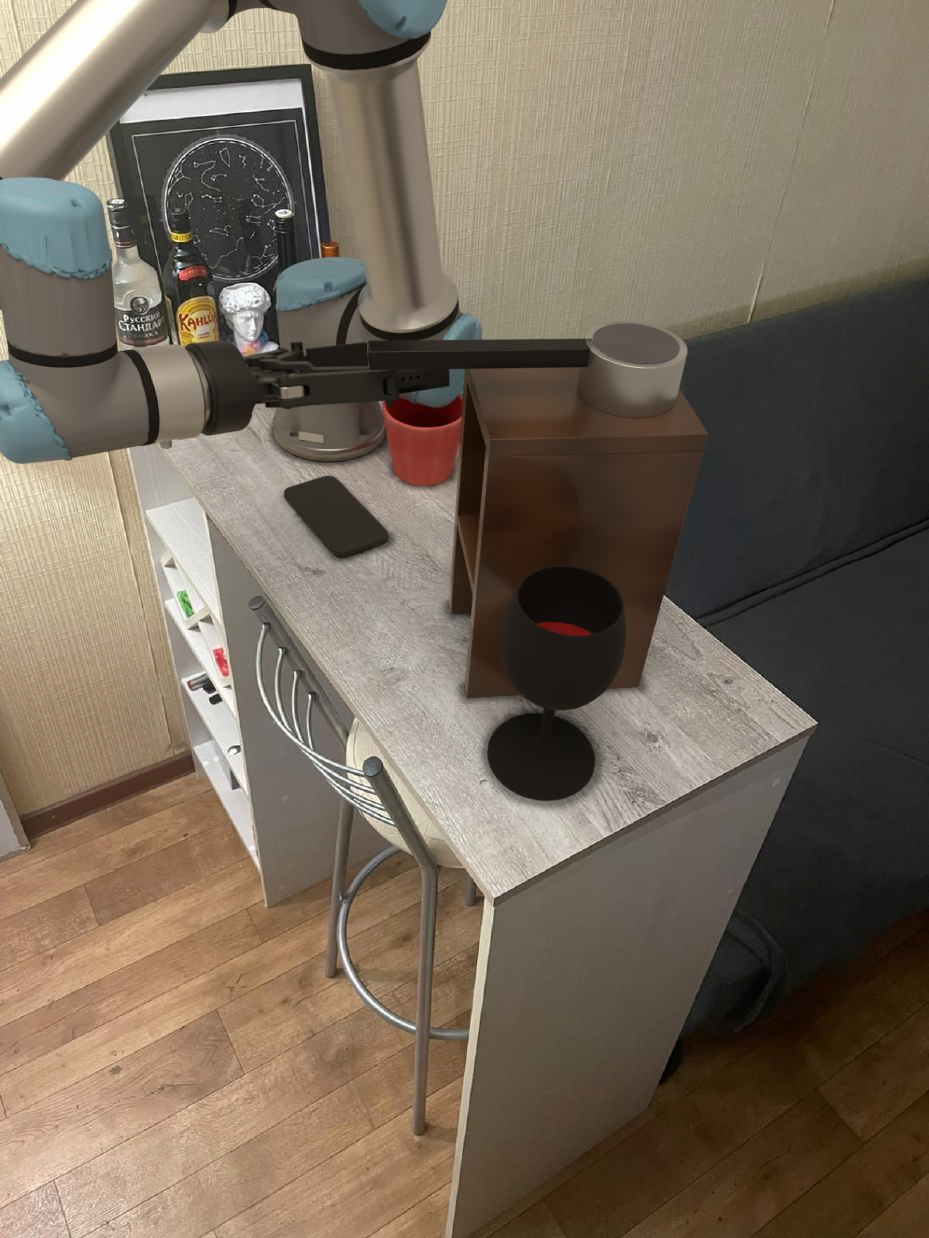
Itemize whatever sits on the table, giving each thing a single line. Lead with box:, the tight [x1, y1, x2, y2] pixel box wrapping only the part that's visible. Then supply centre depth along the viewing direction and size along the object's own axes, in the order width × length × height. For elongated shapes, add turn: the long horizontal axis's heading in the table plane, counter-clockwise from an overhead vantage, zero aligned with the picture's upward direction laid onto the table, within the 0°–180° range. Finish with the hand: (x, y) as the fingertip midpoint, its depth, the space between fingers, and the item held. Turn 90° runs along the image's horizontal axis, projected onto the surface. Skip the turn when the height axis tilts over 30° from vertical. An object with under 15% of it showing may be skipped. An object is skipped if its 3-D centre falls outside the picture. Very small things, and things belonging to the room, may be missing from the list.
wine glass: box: [486, 565, 626, 801], centre depth 80 cm, size 10×10×20 cm
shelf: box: [448, 367, 709, 699], centre depth 88 cm, size 18×14×30 cm
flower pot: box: [382, 394, 463, 487], centre depth 118 cm, size 11×11×10 cm
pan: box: [368, 320, 688, 418], centre depth 75 cm, size 26×8×5 cm, turn 98°
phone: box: [283, 475, 389, 558], centre depth 112 cm, size 7×1×15 cm
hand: (404, 363), depth 87 cm, fingers open, 13 cm apart
